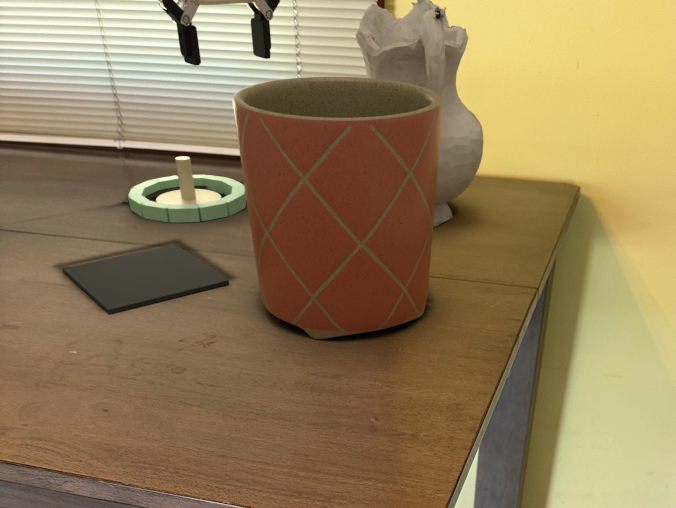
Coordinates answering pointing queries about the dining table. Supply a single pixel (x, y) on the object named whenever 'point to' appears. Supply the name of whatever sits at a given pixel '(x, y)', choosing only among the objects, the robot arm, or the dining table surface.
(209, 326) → the dining table surface
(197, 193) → the ring holder
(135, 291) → the mat
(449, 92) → the ceramic pitcher
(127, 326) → the dining table surface
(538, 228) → the dining table surface
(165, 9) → the robot arm
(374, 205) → the planter
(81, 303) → the dining table surface
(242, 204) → the ring
